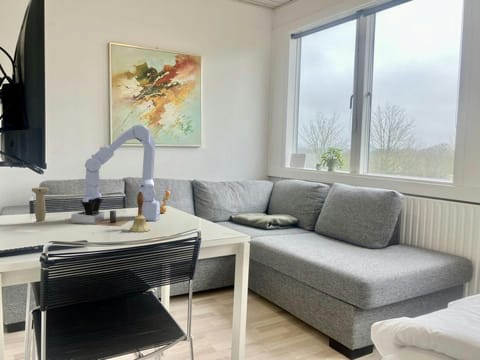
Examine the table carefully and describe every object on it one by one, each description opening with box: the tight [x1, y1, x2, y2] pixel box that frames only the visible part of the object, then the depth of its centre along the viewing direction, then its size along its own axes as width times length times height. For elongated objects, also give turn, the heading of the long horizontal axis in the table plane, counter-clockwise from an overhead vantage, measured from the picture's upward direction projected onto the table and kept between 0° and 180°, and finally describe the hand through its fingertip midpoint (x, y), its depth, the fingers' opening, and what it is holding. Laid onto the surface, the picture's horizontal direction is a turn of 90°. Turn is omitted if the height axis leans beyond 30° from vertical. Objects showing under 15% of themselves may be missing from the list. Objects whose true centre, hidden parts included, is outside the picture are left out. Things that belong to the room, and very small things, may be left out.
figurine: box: [160, 189, 172, 214], centre depth 205 cm, size 8×6×12 cm
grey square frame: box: [70, 210, 105, 225], centre depth 173 cm, size 10×10×4 cm
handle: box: [31, 186, 50, 223], centre depth 170 cm, size 5×6×15 cm
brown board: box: [68, 210, 131, 227], centre depth 173 cm, size 22×13×6 cm, turn 87°
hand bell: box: [129, 192, 151, 233], centre depth 164 cm, size 8×8×16 cm
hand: (92, 215), depth 178 cm, fingers open, 6 cm apart
